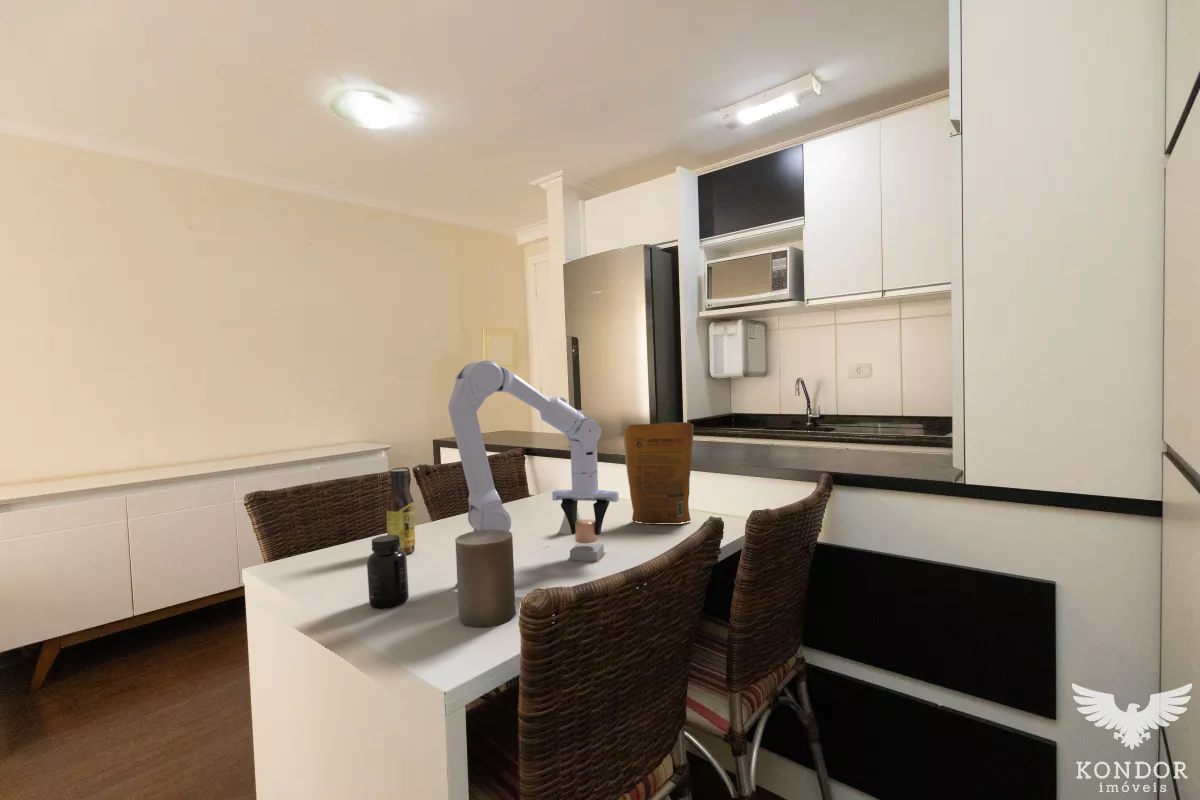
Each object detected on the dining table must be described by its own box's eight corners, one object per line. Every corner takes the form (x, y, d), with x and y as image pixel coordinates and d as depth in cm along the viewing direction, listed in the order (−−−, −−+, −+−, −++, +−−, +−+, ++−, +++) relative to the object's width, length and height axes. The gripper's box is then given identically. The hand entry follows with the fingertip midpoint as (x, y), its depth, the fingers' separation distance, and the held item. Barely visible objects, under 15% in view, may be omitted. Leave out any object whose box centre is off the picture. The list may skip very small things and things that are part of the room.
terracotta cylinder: (585, 544, 118) (584, 526, 118) (570, 540, 121) (570, 522, 121) (601, 540, 121) (601, 521, 121) (587, 535, 125) (587, 518, 125)
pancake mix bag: (695, 527, 148) (693, 422, 147) (625, 525, 152) (622, 423, 151) (696, 520, 155) (693, 420, 154) (628, 519, 159) (626, 421, 158)
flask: (574, 541, 138) (573, 501, 138) (552, 537, 142) (551, 498, 142) (592, 535, 144) (591, 496, 143) (570, 531, 148) (569, 493, 148)
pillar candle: (527, 613, 95) (524, 526, 95) (480, 633, 88) (476, 539, 88) (492, 600, 102) (489, 519, 101) (446, 618, 94) (442, 530, 94)
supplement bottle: (396, 592, 107) (393, 531, 106) (416, 601, 102) (413, 536, 102) (361, 604, 101) (358, 539, 101) (381, 613, 97) (378, 545, 97)
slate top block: (597, 561, 118) (596, 552, 118) (570, 559, 119) (569, 550, 119) (603, 553, 124) (603, 544, 124) (577, 551, 125) (577, 542, 125)
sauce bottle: (410, 556, 129) (406, 471, 129) (383, 557, 130) (380, 472, 129) (419, 548, 136) (416, 467, 135) (394, 548, 136) (391, 468, 136)
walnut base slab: (598, 571, 117) (598, 562, 117) (567, 569, 119) (566, 560, 119) (606, 561, 124) (606, 552, 124) (576, 559, 126) (576, 550, 126)
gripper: (620, 469, 123) (622, 529, 123) (558, 468, 127) (560, 527, 127) (613, 474, 116) (615, 538, 116) (548, 473, 120) (550, 535, 120)
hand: (586, 533), depth 121 cm, fingers closed on terracotta cylinder, 5 cm apart
